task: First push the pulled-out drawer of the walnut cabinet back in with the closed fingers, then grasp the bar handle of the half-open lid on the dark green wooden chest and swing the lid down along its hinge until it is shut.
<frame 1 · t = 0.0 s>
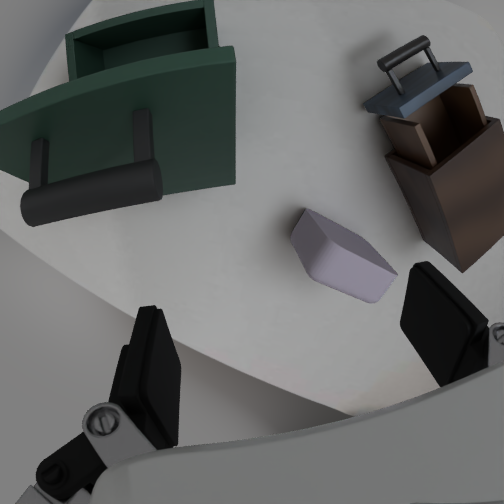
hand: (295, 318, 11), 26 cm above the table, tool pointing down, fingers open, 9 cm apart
chest: (161, 99, 30), on the table
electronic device: (325, 238, 40), on the table
drawer: (433, 117, 29), point 5 cm above the table, slide at 6.0 cm
chest lid: (129, 190, 17), point 17 cm above the table, hinge at 60.0°
cabinet: (438, 176, 37), on the table
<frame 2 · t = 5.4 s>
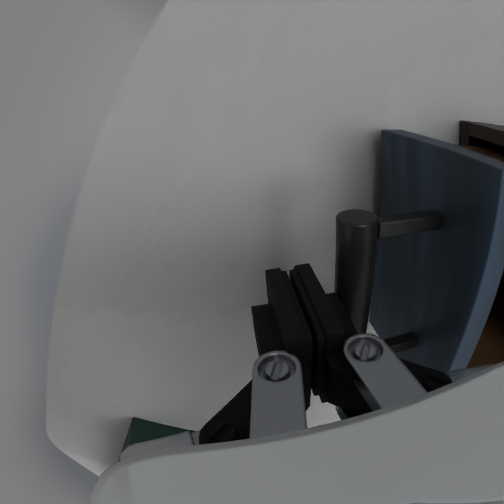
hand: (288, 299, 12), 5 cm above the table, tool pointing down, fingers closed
chest: (199, 462, 27), on the table
drawer: (484, 258, 13), point 5 cm above the table, slide at 5.0 cm, touching gripper
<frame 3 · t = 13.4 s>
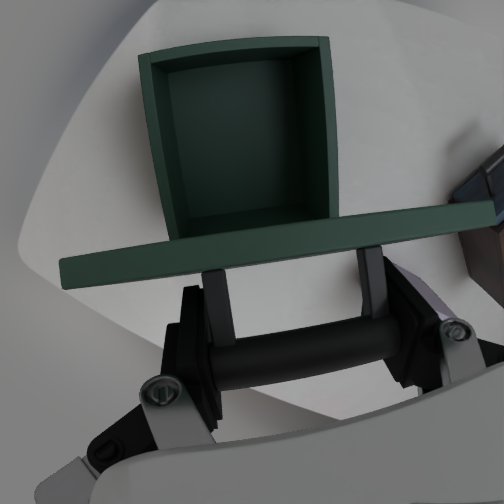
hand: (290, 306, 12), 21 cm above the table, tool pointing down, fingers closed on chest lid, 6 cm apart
chest: (237, 137, 28), on the table
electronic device: (388, 280, 38), on the table
chest lid: (277, 292, 15), point 17 cm above the table, hinge at 60.0°, touching gripper
cabinet: (489, 217, 36), on the table
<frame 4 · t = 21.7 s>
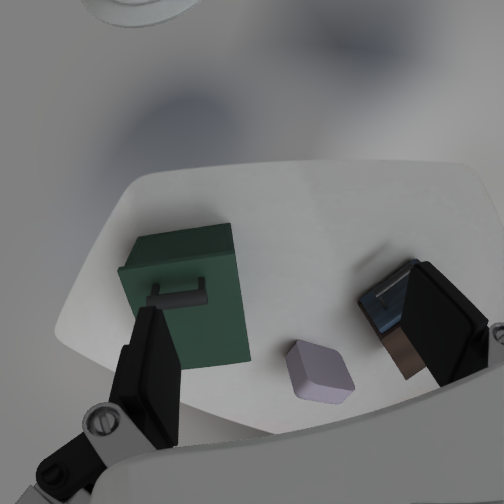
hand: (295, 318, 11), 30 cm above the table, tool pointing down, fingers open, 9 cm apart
chest: (193, 280, 45), on the table
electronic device: (310, 353, 55), on the table
drawer: (407, 309, 47), point 5 cm above the table, slide at 0.0 cm
chest lid: (189, 331, 35), point 12 cm above the table, hinge at 2.5°
cabinet: (400, 306, 52), on the table
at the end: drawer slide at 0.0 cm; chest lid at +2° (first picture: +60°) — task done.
